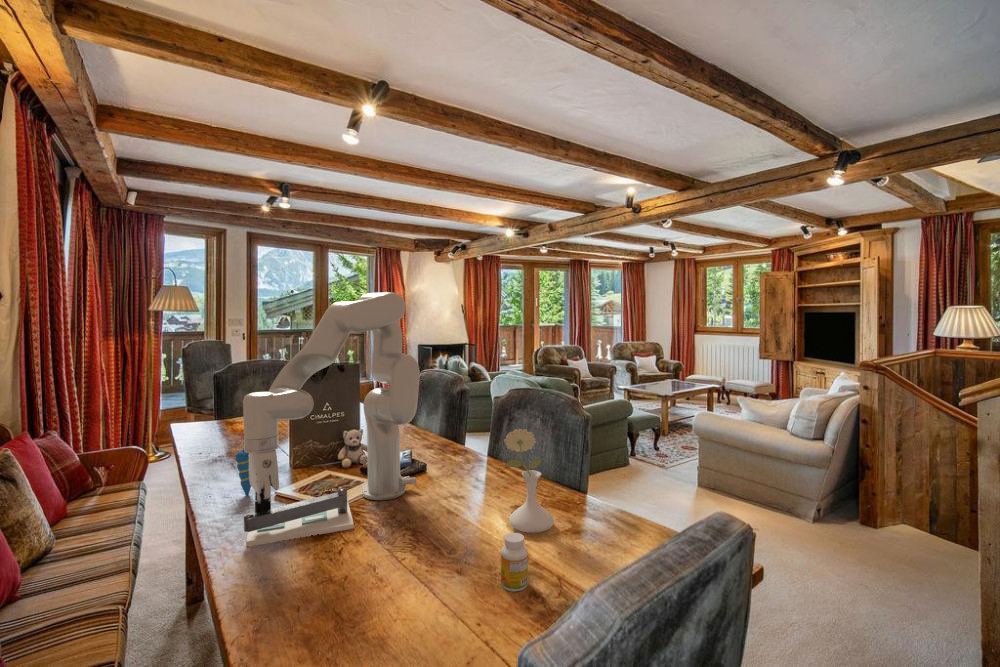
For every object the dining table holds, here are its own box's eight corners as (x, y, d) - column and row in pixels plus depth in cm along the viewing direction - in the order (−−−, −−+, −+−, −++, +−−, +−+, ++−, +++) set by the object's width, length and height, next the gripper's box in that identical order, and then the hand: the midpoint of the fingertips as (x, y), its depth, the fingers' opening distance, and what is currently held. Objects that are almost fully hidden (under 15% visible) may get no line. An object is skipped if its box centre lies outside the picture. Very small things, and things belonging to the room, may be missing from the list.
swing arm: (344, 508, 129) (344, 486, 128) (349, 512, 126) (348, 490, 126) (242, 536, 113) (242, 511, 112) (246, 541, 110) (245, 515, 110)
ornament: (247, 499, 139) (246, 448, 138) (232, 497, 140) (231, 447, 139) (260, 492, 144) (259, 443, 143) (245, 491, 145) (244, 442, 144)
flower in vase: (558, 520, 125) (558, 426, 123) (548, 540, 114) (548, 437, 113) (510, 513, 129) (510, 422, 128) (496, 532, 118) (496, 432, 117)
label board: (347, 504, 135) (347, 498, 135) (353, 528, 120) (353, 521, 120) (252, 519, 126) (252, 512, 125) (246, 546, 111) (246, 539, 111)
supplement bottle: (499, 577, 98) (499, 531, 98) (525, 576, 99) (525, 530, 98) (502, 593, 93) (502, 544, 92) (529, 591, 93) (529, 543, 93)
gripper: (286, 447, 113) (288, 523, 114) (270, 434, 125) (271, 503, 125) (251, 453, 108) (253, 532, 109) (238, 439, 120) (239, 511, 121)
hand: (263, 516), depth 117 cm, fingers closed
